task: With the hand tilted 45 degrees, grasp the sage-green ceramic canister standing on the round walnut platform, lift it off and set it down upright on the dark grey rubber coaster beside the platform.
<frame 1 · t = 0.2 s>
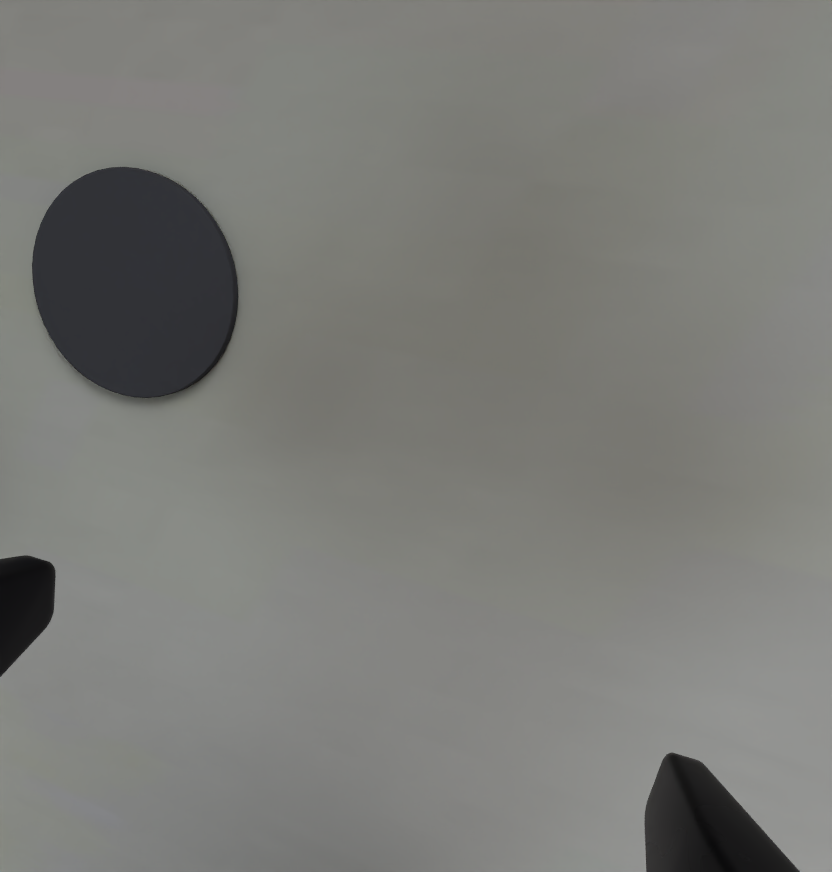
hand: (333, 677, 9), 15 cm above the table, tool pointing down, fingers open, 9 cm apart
coaster: (136, 287, 24), on the table
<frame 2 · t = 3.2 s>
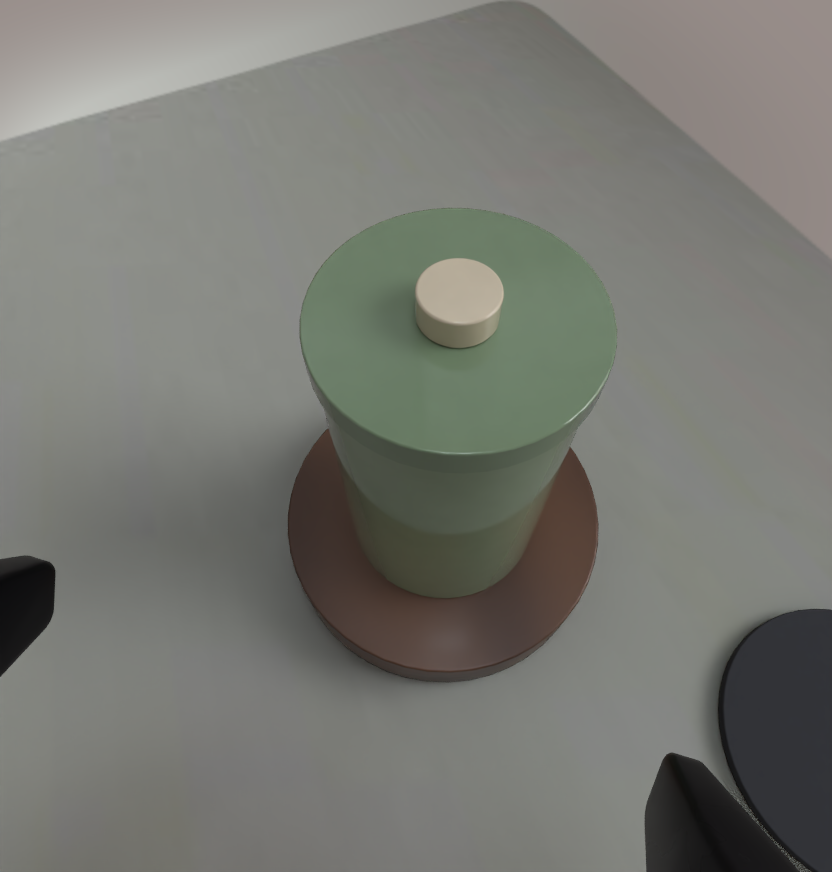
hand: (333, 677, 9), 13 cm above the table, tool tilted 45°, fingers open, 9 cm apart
canister: (442, 509, 22), point 2 cm above the table, touching platform
platform: (440, 529, 24), on the table
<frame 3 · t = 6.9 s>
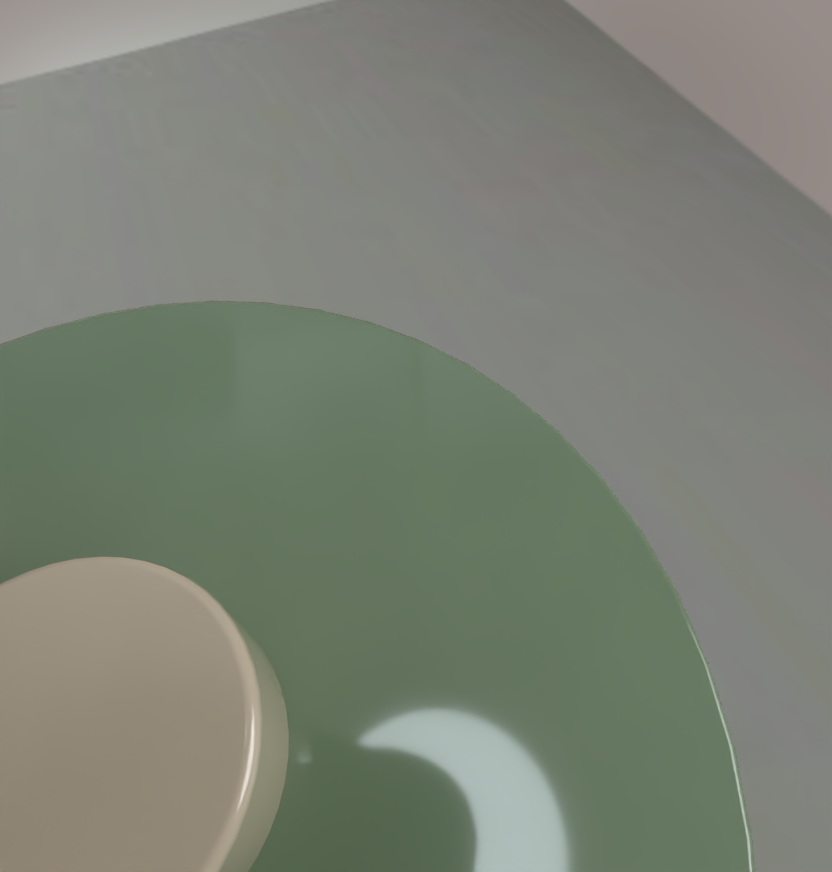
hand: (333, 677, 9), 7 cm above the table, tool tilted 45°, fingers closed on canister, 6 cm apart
canister: (337, 792, 12), point 2 cm above the table, touching gripper, platform
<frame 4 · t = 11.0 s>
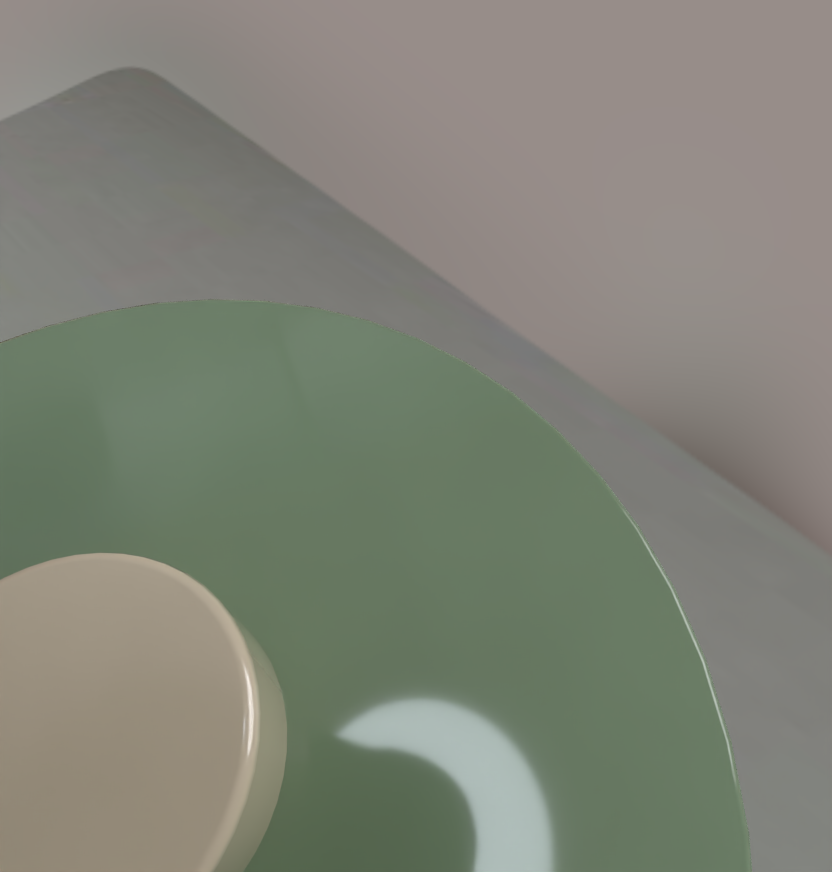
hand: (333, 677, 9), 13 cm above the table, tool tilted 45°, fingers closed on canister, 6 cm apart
canister: (337, 791, 12), point 8 cm above the table, touching gripper
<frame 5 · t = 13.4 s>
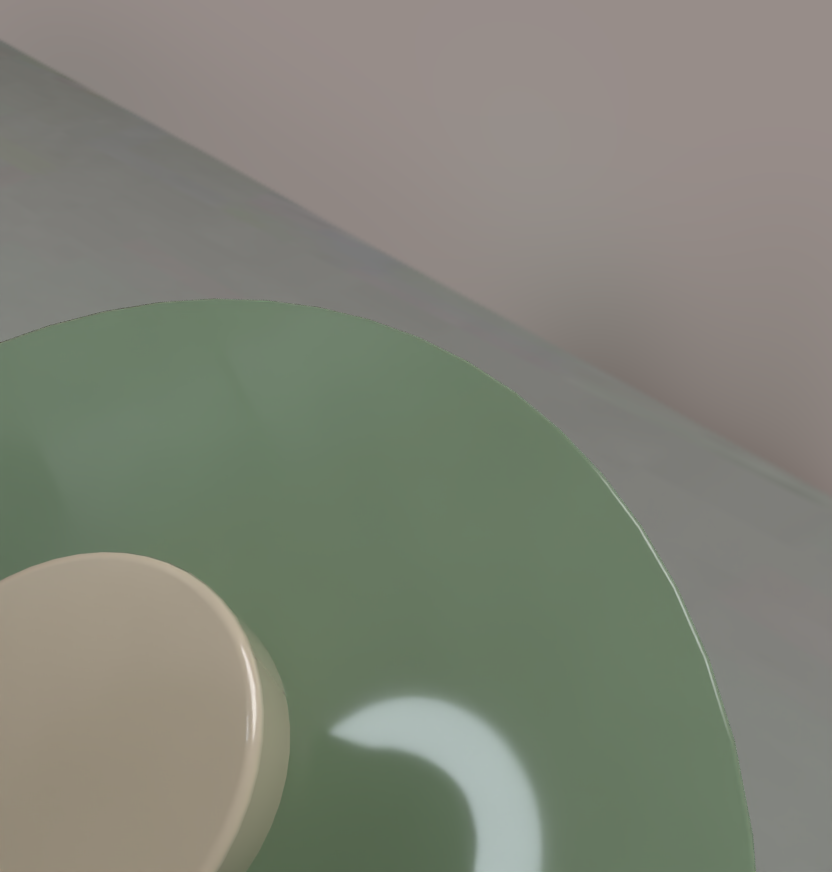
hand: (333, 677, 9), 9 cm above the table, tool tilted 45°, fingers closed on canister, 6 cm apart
canister: (338, 791, 12), point 4 cm above the table, touching gripper
when the fingers open (5 cm above the table, at t = 15.4 s): canister stays where it is, resting on coaster.
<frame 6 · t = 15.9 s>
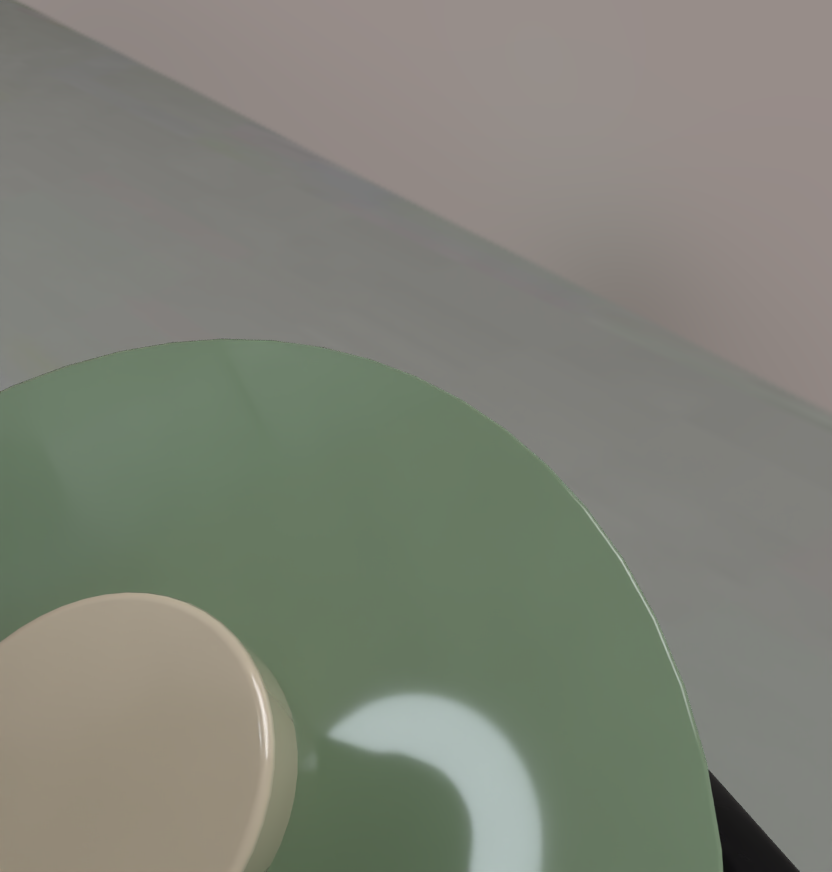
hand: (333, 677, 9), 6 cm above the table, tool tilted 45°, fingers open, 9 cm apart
canister: (339, 796, 13), resting on coaster
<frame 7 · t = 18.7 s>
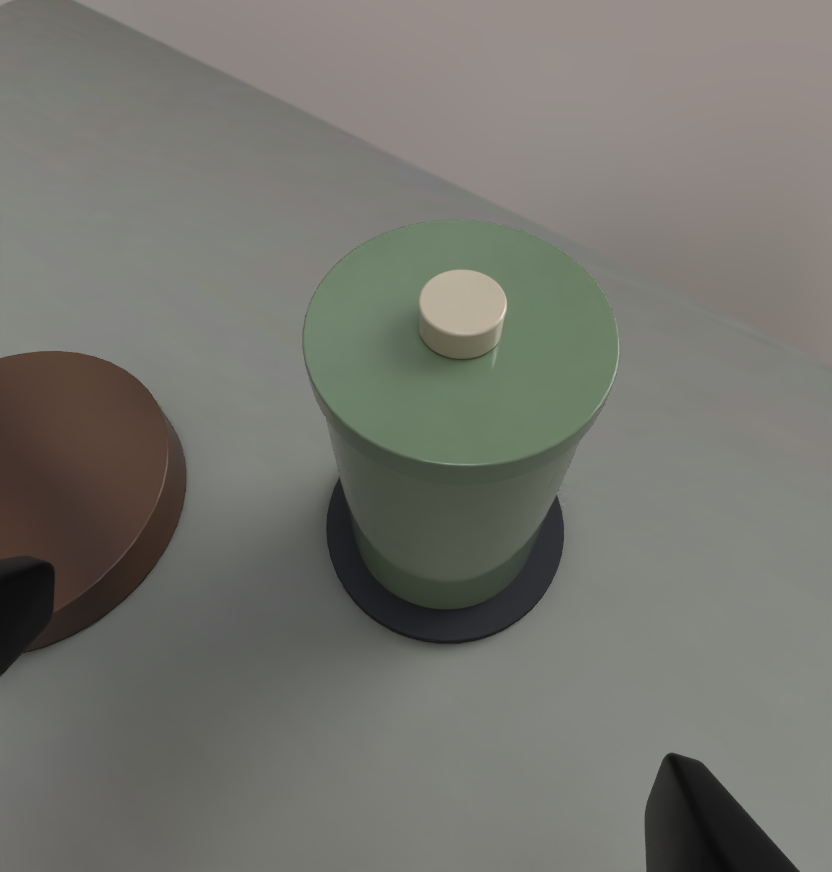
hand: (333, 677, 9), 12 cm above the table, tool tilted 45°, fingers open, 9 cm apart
coaster: (444, 523, 23), on the table
canister: (443, 519, 22), resting on coaster
platform: (35, 502, 23), on the table
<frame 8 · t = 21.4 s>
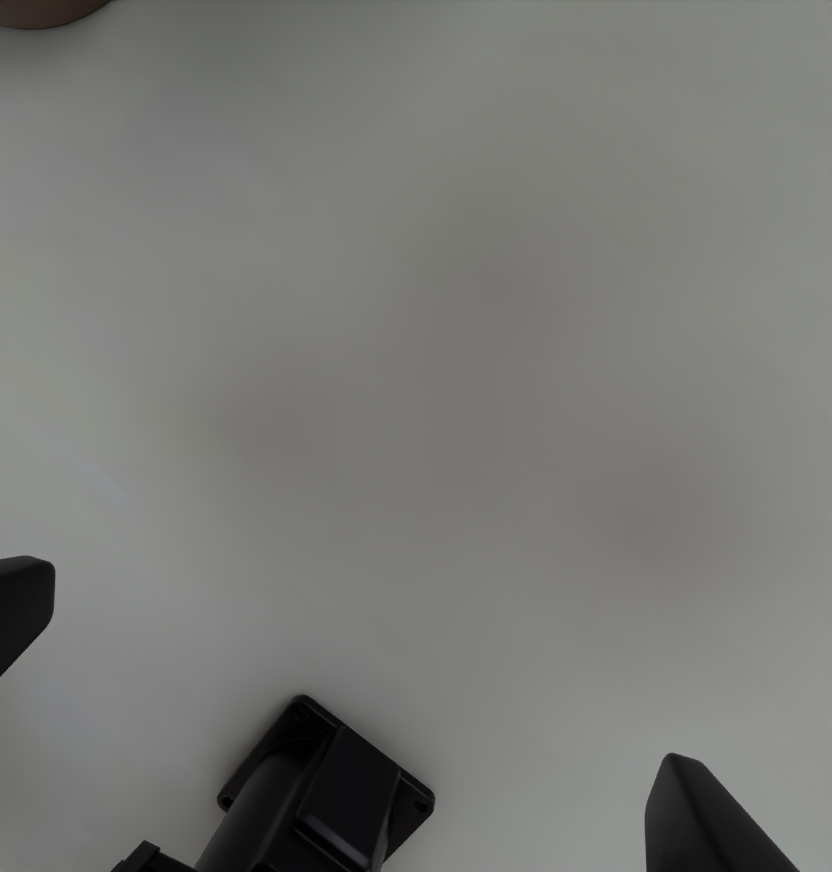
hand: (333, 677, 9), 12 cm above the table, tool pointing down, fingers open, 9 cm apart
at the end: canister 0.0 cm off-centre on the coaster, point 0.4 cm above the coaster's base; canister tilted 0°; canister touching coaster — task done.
